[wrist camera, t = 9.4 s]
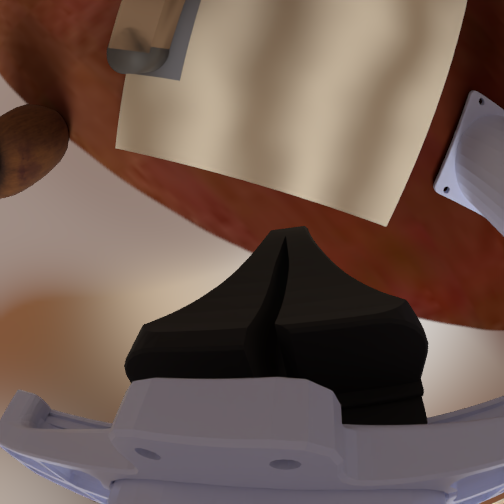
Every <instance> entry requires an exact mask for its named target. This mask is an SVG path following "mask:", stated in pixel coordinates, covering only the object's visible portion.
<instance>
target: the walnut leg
mask: <svg viewBox="0 0 504 504" xmlns="http://www.w3.org/2000/svg"><path fill="white" fill-rule="evenodd" d="M184 3H185V0H122V2H121V5H120V8H119V11H118V14H117V18H116V21H115V25H114V28H113V32H112V35H111V39H110V42H109V45H108V48H107V60H108V63H109V65H110V66H111V68H112V69H113V70H115V71H116V72H118V73H121V74H131V73H147V72H153V71H155V70H157V69H159V68H160V67H161V66H162V65H163V64H164V63H165V62H166V60H167V58H168V55H169V49H170V46H171V42H172V39H173V36H174V33H175V30H176V26H177V23H178V20H179V17H180V14H181V11H182V8H183V6H184Z"/></svg>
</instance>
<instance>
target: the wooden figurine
mask: <svg viewBox="0 0 504 504" xmlns="http://www.w3.org/2000/svg"><path fill="white" fill-rule="evenodd" d="M68 141H69V135H68V127H67V125H66V123H65V121H64V119H63V117H62V116H61V115H60V114H59V113H58V112H57V111H55V110H53V109H50V108H47V107H44V106H40V105H30V104H26V105H23V106H20V107H16V108H15V109H13V110H11V111H9V112H7V113H5V114H3V115H2V116H0V199H1V198H6V197H9V196H13V195H16V194H17V193H20V192H22V191H23V190H25V189H27V188H28V187H30V186H32V185H33V184H34V183H36V182H37V181H39V180H40V179H41V178H43V177H44V176H45V175H46V174H48V173H49V172H50V171H51V170H52V169H53V168H54V167H55V166H56V165H57V164H58V163H59V162H60V160H61V159H62V157H63V156H64V154H65V152H66V150H67V148H68Z"/></svg>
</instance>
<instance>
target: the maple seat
mask: <svg viewBox="0 0 504 504" xmlns="http://www.w3.org/2000/svg"><path fill="white" fill-rule="evenodd" d="M466 4H467V0H185V3H184V6H183V8H182V11H181V14H180V17H179V20H178V23H177V26H176V30H175V33H174V36H173V39H172V42H171V46H170V49H169V55H168V58H167V60H166V62H165V63H164V64H163V65H162V66H161V67H160V68H159V69H157V70H155V71H153V72H147V73H131V74H126V77H125V83H124V89H123V95H122V101H121V108H120V115H119V122H118V130H117V138H116V147H115V148H117V149H122V150H126V151H131V152H135V153H140V154H144V155H148V156H153V157H157V158H161V159H165V160H169V161H173V162H177V163H181V164H185V165H189V166H193V167H197V168H201V169H205V170H208V171H212V172H216V173H219V174H223V175H227V176H230V177H234V178H237V179H241V180H244V181H248V182H251V183H255V184H258V185H262V186H265V187H268V188H272V189H275V190H278V191H282V192H285V193H288V194H291V195H295V196H298V197H301V198H304V199H307V200H310V201H313V202H316V203H320V204H323V205H326V206H329V207H332V208H335V209H338V210H341V211H344V212H346V213H349V214H352V215H355V216H358V217H361V218H364V219H367V220H369V221H372V222H375V223H378V224H381V225H383V226H387V224H388V222H389V220H390V218H391V216H392V214H393V211H394V209H395V207H396V205H397V203H398V201H399V199H400V196H401V194H402V192H403V190H404V187H405V185H406V183H407V181H408V178H409V176H410V174H411V171H412V169H413V167H414V164H415V162H416V159H417V157H418V155H419V152H420V150H421V147H422V145H423V142H424V139H425V137H426V134H427V132H428V129H429V126H430V124H431V121H432V118H433V116H434V113H435V110H436V107H437V104H438V102H439V99H440V96H441V93H442V90H443V87H444V84H445V81H446V78H447V74H448V71H449V68H450V65H451V61H452V58H453V55H454V51H455V48H456V44H457V40H458V37H459V33H460V29H461V25H462V21H463V17H464V13H465V8H466Z"/></svg>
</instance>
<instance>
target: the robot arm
mask: <svg viewBox="0 0 504 504" xmlns="http://www.w3.org/2000/svg"><path fill="white" fill-rule="evenodd" d="M480 98H481V100H482V103H481V104H479V99H480ZM446 186H447V187H448V188H447V190H446V191H443V190H444V188H445V187H446ZM433 187H434V190H435V191H436V192H437V193H438V194H441V195H443V196H445V197H447V198H449V199H451V200H453V201H455V202H457V203H459V204H461V205H463V206H465V207H467V208H469V209H471V210H473V211H475V212H477V213H479V214H480V215H482V216H484V217H485V218H486V219H487V220H488V221H489V222H490V223H491V224H492V225H493V226H494V227H495V228H496V229H497V230H498V231H499V232H500V233H501V234H502V235H503V236H504V110H503V109H502V108H501V107H499V106H498V105H497V104H495V103H494V102H492V101H491V100H489V99H488V98H487V97H485V96H484V95H482V94H481V93H479V92H477V91H471V92H470V93H469V95H468V98H467V101H466V104H465V106H464V109H463V112H462V115H461V118H460V120H459V123H458V126H457V129H456V131H455V134H454V136H453V139H452V142H451V144H450V147H449V149H448V152H447V154H446V156H445V159H444V161H443V164H442V166H441V168H440V171H439V173H438V175H437V177H436V180H435V182H434V185H433ZM427 353H428V341H427V338H426V335H425V332H424V329H423V327H422V325H421V323H420V321H419V319H418V317H417V316H416V314H415V312H414V311H413V309H412V308H411V306H410V305H409V303H408V302H407V301H406V300H405V299H401V298H398V297H395V296H392V295H389V294H386V293H383V292H380V291H378V290H376V289H373V288H371V287H369V286H367V285H365V284H363V283H361V282H359V281H357V280H356V279H354V278H352V277H351V276H349V275H348V274H346V273H345V272H344V271H342V270H341V269H340V268H339V267H338V266H336V265H335V264H334V263H333V262H332V261H331V260H330V259H329V258H328V257H327V256H326V255H325V254H324V253H323V251H322V250H321V249H320V248H319V247H318V245H317V244H316V243H315V241H314V240H313V238H312V237H311V235H310V233H309V231H308V228H306V227H305V226H301V227H294V228H286V229H279V230H272V231H270V233H269V234H268V235H267V236H266V238H265V239H264V240H263V241H262V243H261V244H260V245H259V246H258V248H257V249H256V250H255V251H254V252H253V254H252V255H251V256H250V257H249V258H248V259H247V260H246V261H245V262H244V263H243V264H242V265H241V266H240V268H239V269H238V270H237V271H235V272H234V273H233V274H232V275H231V276H230V277H229V278H227V279H226V280H225V281H224V282H223V283H221V284H220V285H219V286H218V287H216V288H214V289H213V290H211V291H210V292H209V293H207V294H206V295H204V296H203V297H201V298H200V299H198V300H196V301H195V302H193V303H191V304H189V305H187V306H186V307H183V308H182V309H180V310H178V311H176V312H173V313H172V314H169V315H167V316H164V317H162V318H160V319H157V320H155V321H152V322H150V323H147V324H144V325H143V326H142V328H141V330H140V332H139V334H138V336H137V338H136V340H135V342H134V344H133V346H132V348H131V350H130V352H129V354H128V356H127V358H126V361H125V365H124V367H125V371H126V375H127V377H128V378H129V380H130V382H131V385H130V386H129V388H128V389H127V391H126V393H125V396H124V398H123V400H122V402H121V405H120V407H119V409H118V412H117V414H116V417H115V419H114V421H113V424H112V423H107V422H102V421H97V420H93V419H88V418H84V417H79V416H75V415H71V414H67V413H63V412H59V411H56V410H52V409H51V408H50V407H49V406H48V404H47V403H46V402H45V401H44V400H43V399H42V398H41V397H39V396H38V395H36V394H33V393H30V392H26V391H23V390H17V392H16V394H15V395H14V397H13V399H12V400H11V402H10V404H9V405H8V407H7V409H6V411H5V412H4V414H3V416H2V418H1V419H0V447H1V448H3V449H4V450H5V451H6V452H8V453H9V454H10V455H11V456H13V457H14V458H15V459H16V460H18V461H19V462H20V463H22V464H23V465H24V466H26V467H27V468H29V469H30V470H31V471H33V472H34V473H36V474H38V475H40V476H42V477H44V478H46V479H48V480H50V481H52V482H54V483H56V484H58V485H60V486H62V487H65V488H67V489H69V490H71V491H73V492H75V493H78V494H80V495H82V496H84V497H87V498H89V499H91V500H94V501H96V502H98V503H101V504H479V503H481V502H483V501H486V500H488V499H490V498H493V497H495V496H497V495H499V494H501V493H503V492H504V396H502V397H499V398H496V399H493V400H490V401H487V402H484V403H481V404H478V405H475V406H471V407H468V408H464V409H461V410H457V411H454V412H450V413H446V414H442V415H438V416H434V417H430V418H427V417H426V412H425V408H424V404H423V401H422V396H423V393H424V389H423V386H422V382H421V376H422V372H423V368H424V364H425V361H426V357H427Z"/></svg>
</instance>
